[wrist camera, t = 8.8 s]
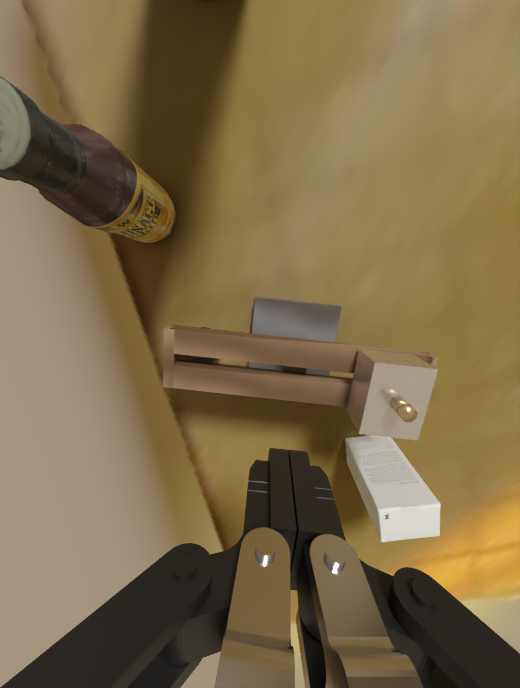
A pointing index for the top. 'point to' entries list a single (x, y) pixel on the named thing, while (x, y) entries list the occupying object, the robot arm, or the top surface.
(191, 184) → the top surface
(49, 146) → the sauce bottle
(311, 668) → the robot arm
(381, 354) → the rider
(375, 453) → the skincare box
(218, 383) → the balance beam
